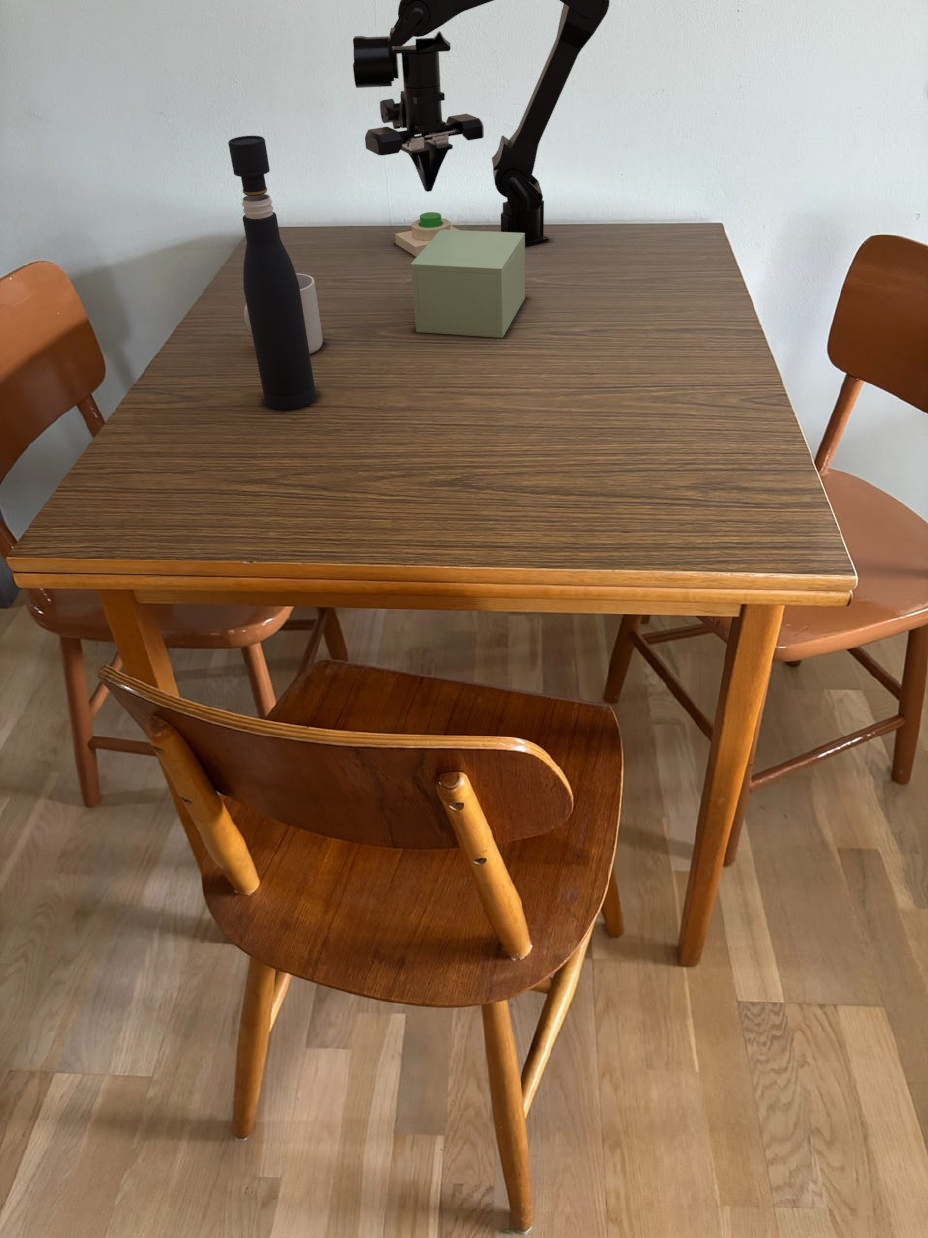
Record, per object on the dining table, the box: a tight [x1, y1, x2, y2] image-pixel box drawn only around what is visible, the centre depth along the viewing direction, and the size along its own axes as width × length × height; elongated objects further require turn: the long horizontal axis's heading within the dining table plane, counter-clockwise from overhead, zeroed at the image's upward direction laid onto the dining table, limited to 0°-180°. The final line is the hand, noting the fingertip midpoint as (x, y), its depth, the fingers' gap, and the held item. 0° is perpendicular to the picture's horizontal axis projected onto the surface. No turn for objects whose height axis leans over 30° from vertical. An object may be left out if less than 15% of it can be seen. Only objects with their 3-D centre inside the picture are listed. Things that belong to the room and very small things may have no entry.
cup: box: [243, 272, 324, 355], centre depth 130 cm, size 7×10×9 cm
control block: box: [394, 217, 459, 258], centre depth 163 cm, size 10×8×4 cm
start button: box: [419, 211, 442, 228], centre depth 161 cm, size 4×4×2 cm
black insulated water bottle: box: [227, 135, 317, 411], centre depth 111 cm, size 6×6×30 cm
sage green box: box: [410, 229, 526, 339], centre depth 136 cm, size 15×13×10 cm
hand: (428, 190), depth 158 cm, fingers closed
